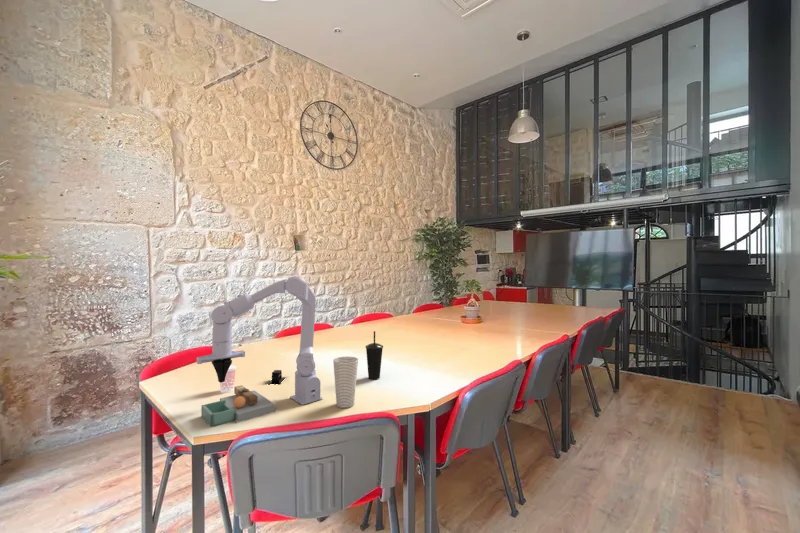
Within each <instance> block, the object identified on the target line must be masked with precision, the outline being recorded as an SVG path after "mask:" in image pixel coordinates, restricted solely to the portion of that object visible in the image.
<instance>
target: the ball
mask: <svg viewBox="0 0 800 533" xmlns="http://www.w3.org/2000/svg"><path fill="white" fill-rule="evenodd" d="M244 404H245V398H244V397H242V396H238V397H236V398H235V399H234V401H233V405H234V406H235V407H236V408H241V407H243V406H244Z"/></svg>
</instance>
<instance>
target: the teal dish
mask: <svg viewBox="0 0 800 533" xmlns="http://www.w3.org/2000/svg"><path fill="white" fill-rule="evenodd" d="M200 410H201V414H200V415H201V418H202V419H203V420H204V421H205V422H206V423H207V425H208V426H209V427H210V428H213V427H216V426H221V425H224V424H227V423H231V422H234V421H236V408H234V409H231V408H230V407H229V406H228V405H227V404H226V400H221V401H220V400H218V401H214V402H210V403H209V402H208V403H205V404H201V409H200Z"/></svg>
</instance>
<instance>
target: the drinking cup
mask: <svg viewBox="0 0 800 533" xmlns="http://www.w3.org/2000/svg"><path fill="white" fill-rule="evenodd" d="M365 349H366V350H365V351H366V364H367V374H368V375H367V376H368V379H369V380H372V381H373V380H379V379H380V378H381V370H382V369H381V368H382V358H383V357H382V356H383V349H384V345H382V344H380V343H377V342H376V331H373V342H371V343H368V344H366V345H365Z"/></svg>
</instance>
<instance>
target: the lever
mask: <svg viewBox="0 0 800 533" xmlns="http://www.w3.org/2000/svg"><path fill="white" fill-rule="evenodd" d="M251 391H252V390H249V388H246V387H245V385H241V384H240V385H237V386H234V391H233V392H234V395H237V396H242V397H244V398H245V402H247V403H248V404H249V405H252V404H256V403H258V396H256V395H255V394H254V393H252V392H251Z"/></svg>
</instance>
